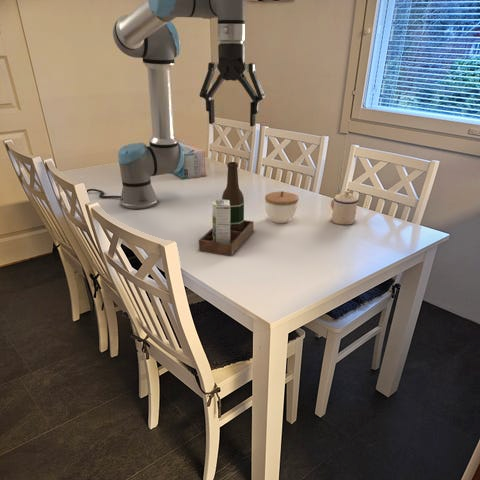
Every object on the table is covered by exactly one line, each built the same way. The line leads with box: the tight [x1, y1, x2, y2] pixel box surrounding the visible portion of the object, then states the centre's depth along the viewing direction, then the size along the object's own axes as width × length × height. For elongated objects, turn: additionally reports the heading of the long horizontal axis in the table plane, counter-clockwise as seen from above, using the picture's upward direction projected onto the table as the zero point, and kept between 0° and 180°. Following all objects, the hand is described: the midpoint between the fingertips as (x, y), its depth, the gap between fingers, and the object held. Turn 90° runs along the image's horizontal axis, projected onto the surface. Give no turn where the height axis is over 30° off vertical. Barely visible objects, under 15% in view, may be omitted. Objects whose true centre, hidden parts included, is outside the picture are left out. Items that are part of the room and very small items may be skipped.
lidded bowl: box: [264, 190, 299, 224], centre depth 160 cm, size 13×13×11 cm
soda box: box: [173, 136, 207, 180], centre depth 224 cm, size 41×14×13 cm, turn 30°
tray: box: [198, 219, 255, 257], centre depth 145 cm, size 12×22×4 cm, turn 160°
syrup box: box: [211, 199, 230, 244], centre depth 138 cm, size 6×6×14 cm
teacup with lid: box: [330, 189, 359, 226], centre depth 160 cm, size 12×9×12 cm
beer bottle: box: [221, 161, 245, 232], centre depth 143 cm, size 8×8×24 cm
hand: (231, 124), depth 130 cm, fingers open, 13 cm apart
